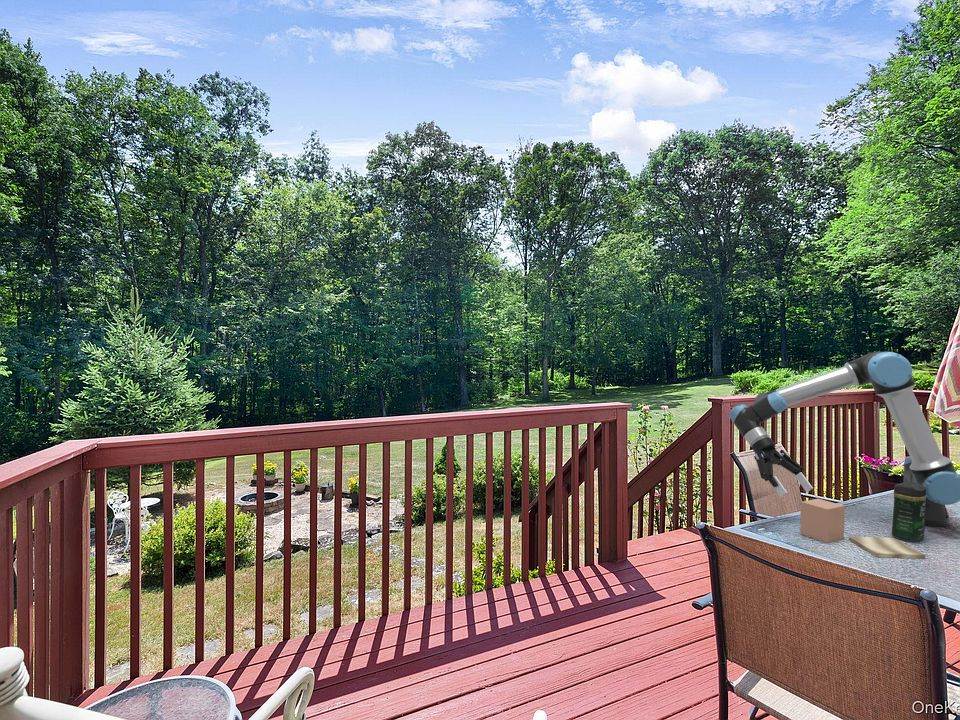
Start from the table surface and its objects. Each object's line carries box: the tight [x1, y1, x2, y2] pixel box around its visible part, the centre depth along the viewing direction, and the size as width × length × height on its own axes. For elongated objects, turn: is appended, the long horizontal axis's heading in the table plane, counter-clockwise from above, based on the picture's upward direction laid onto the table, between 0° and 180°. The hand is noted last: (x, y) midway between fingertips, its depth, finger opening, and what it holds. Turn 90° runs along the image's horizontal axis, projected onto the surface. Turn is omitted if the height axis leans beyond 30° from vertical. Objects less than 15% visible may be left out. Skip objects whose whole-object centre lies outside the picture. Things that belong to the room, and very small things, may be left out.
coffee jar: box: [891, 481, 926, 543], centre depth 182 cm, size 10×8×19 cm
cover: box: [799, 498, 846, 544], centre depth 183 cm, size 9×9×11 cm
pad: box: [848, 536, 926, 560], centre depth 172 cm, size 14×14×1 cm
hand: (797, 492), depth 191 cm, fingers open, 13 cm apart
